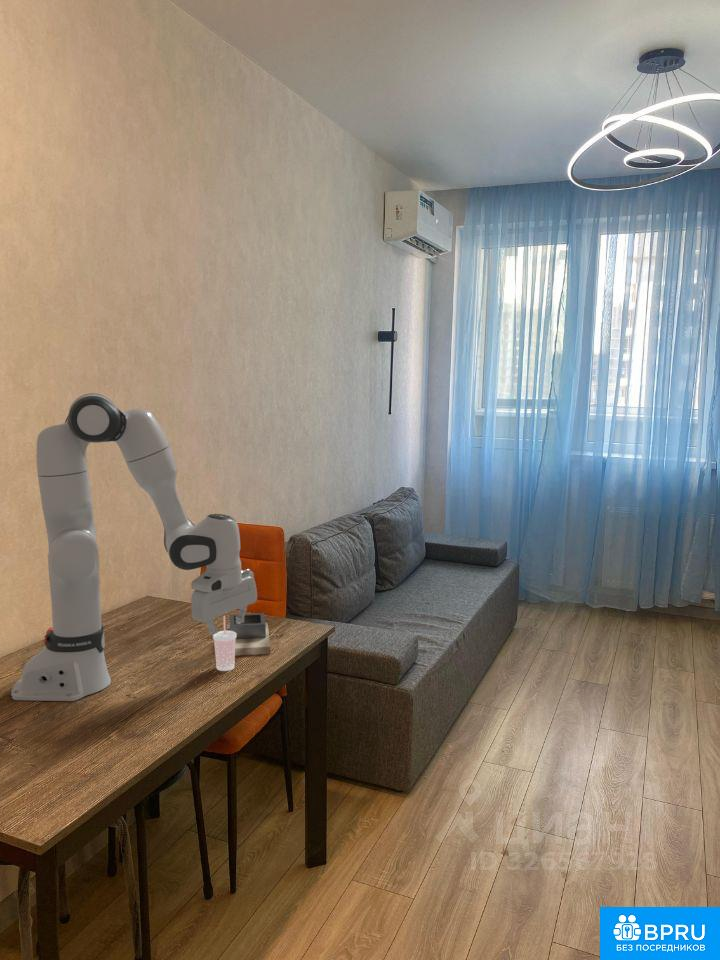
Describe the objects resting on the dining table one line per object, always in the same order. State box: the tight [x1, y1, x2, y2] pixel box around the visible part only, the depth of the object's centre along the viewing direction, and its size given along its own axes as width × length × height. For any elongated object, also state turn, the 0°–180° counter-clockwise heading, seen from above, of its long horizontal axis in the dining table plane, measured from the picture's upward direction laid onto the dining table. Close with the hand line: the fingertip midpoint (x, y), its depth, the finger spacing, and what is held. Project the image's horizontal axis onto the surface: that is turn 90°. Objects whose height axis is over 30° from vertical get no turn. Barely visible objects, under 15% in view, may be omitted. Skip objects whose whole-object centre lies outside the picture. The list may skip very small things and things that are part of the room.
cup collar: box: [229, 612, 266, 639], centre depth 215 cm, size 10×10×4 cm
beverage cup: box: [212, 615, 237, 672], centre depth 194 cm, size 6×6×14 cm
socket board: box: [226, 622, 272, 657], centre depth 214 cm, size 12×20×2 cm, turn 9°
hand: (227, 628), depth 194 cm, fingers open, 8 cm apart
